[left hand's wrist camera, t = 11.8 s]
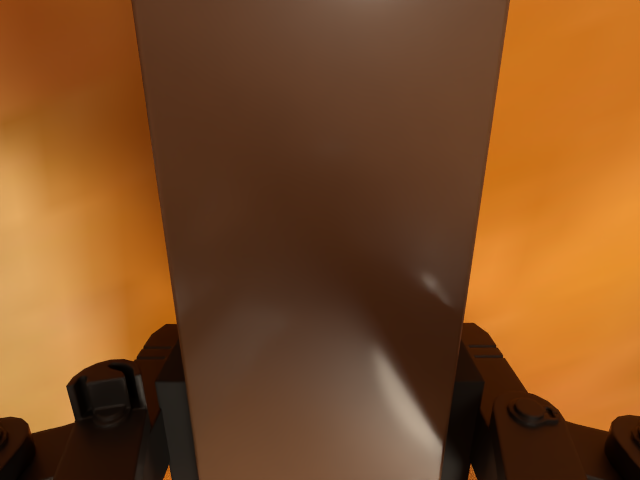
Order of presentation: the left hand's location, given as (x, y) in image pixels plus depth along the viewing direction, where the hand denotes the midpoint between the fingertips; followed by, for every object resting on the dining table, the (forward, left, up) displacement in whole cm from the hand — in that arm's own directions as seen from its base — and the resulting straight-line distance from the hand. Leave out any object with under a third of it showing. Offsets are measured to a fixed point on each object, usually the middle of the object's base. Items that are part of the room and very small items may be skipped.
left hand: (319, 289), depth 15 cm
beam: (+15, +17, -1) cm, 22 cm away
